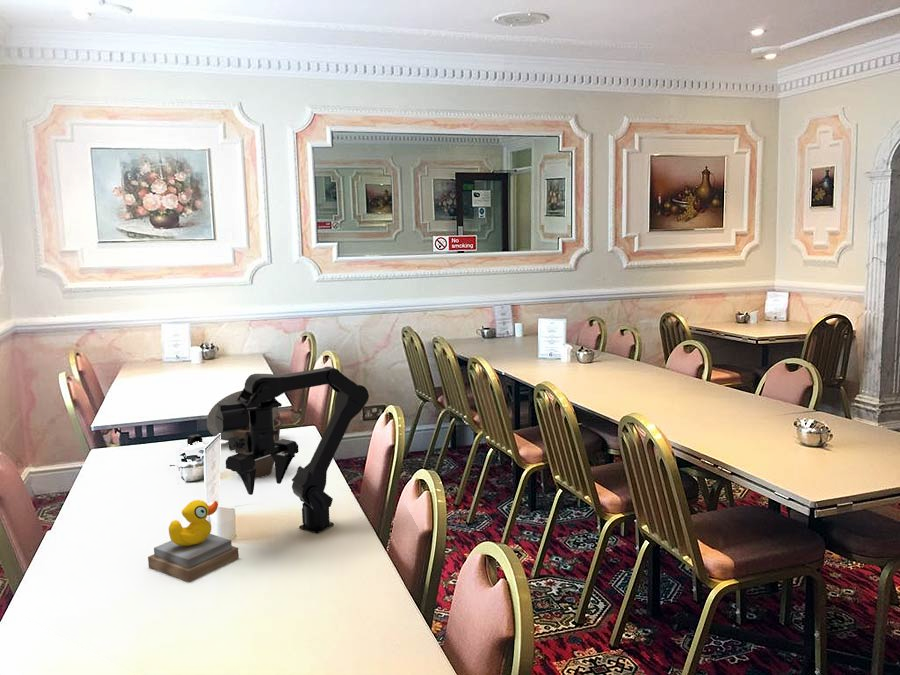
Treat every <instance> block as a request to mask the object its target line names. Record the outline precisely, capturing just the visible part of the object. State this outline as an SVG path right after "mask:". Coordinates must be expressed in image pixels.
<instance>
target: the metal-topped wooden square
mask: <svg viewBox="0 0 900 675" xmlns="http://www.w3.org/2000/svg"><path fill="white" fill-rule="evenodd" d="M153 552H154V553H153V554H151V555H149V556H147V561H148V562H147V563H148V568H150V569H152V570H155V571H158V572H160V573H164V574H166V575H169V576H172V577H174V578H176V579H179V580H183V581H186V582H188V583H190V582H192V581H194V580H196V579H199V578H200V577H202V576H204V575H207V574H209V573H210V572H212V571H215V570H217V569H219V568H221V567H224V566H225V565H227V564H229V563H231V562H233V560H234V561H235V560H238V559H239V558H240V557H239V547H236V546H233V544H232V540H231V539H228V538H225V537H222V536H219V535H216V534H213V533H210V534H209V536H208V537H207V538H206V539H205V540H204V541H203V542H202V543H199V544H196V545H191V546H181V545H177V544H175V543H174V542H172V540H171V539H170V541H167V542H164V543H162V544H160V545H157V546H155V547H153ZM206 573H207V574H206Z"/></svg>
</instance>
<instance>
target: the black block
mask: <svg viewBox="0 0 900 675" xmlns="http://www.w3.org/2000/svg"><path fill="white" fill-rule="evenodd" d="M186 439H187V441H186V443H187V445H188V444H190V445H193V444H196V443H198V441H199V442H203V437H202V435H201V434H197V433H196V434H192V435H188V436H187V438H186Z"/></svg>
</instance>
